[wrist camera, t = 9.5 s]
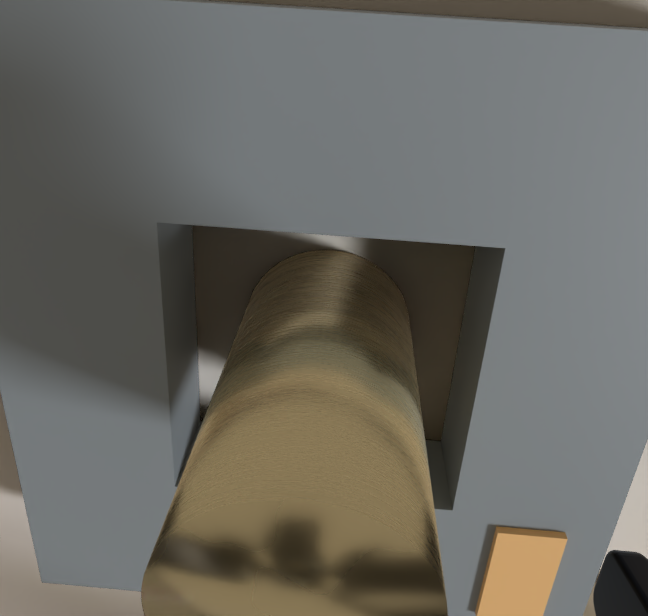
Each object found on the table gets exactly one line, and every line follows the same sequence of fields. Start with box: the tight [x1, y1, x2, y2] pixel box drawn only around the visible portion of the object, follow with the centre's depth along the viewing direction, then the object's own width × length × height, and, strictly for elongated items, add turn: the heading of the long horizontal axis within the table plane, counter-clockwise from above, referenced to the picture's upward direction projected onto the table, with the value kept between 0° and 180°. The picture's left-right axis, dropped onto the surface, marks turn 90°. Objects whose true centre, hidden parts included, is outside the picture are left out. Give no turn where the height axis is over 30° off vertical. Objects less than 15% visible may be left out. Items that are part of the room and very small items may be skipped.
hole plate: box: [0, 0, 648, 616], centre depth 14 cm, size 14×14×3 cm
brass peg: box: [141, 250, 448, 616], centre depth 12 cm, size 4×4×8 cm
